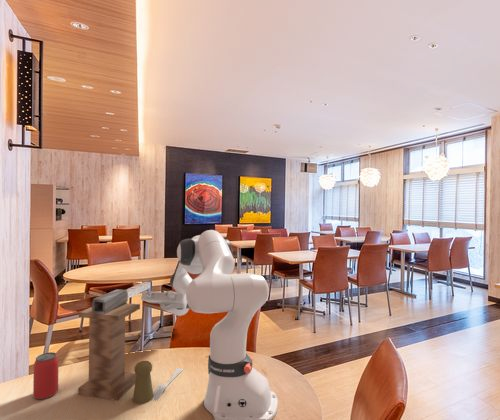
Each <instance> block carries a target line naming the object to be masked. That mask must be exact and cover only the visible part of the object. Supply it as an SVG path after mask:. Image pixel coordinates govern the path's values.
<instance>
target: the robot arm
mask: <svg viewBox="0 0 500 420" xmlns="http://www.w3.org/2000/svg"><path fill="white" fill-rule="evenodd" d="M176 256H177V259H178V262H177V265H176V266H175V269H174V272H173V273H172V275H171V277H170V280H169V285H170V286H171V288H173V289H174V291H173V290H167V291H165V292H164V291H163V292H161V291H160V292H159V291H158V292H157V291H150V290H145V291H143V292H141V297H140V299H141V300H142V301H144V302H147V303H151V304H159V306H160V308H161V309H163V310H164V311H166V312H168V313H170V314H172V315H175V316H184V315H186V314H188V312H189V310H191V311H192V312H194V313H199V314H209V315H210V314H215V313H217V314H219V313H226V312H227V313H226V315H224V317H223V318H222V319H221V320H220V321H218V322H217V323H215V325H214V326H213V327H212V329H211V331H210V334H209V335H210V336H209V337H210V340H209V355H208V360H207V371H208V383H207V387H206V394H205V398H204V399H203V400H204V401H203V405H204V408H205V409H206V410H207V411H208V412H209V413H210V414H212V416H213V418H214V420H273V419H274V417H276V416H275V415H276V414H277V411H278V407H279V406H278V405H279V400H278V396H277V394H276V392H275V391H273V390H271V388H270V383H269V380H268V379H267V377H266V376H264V375H263V374H262V373H260V372H259V371H258V370H256V369H255V368H254V367H253V358H254V357H253V355H251V356H249V355H248V353H247V338H248V331H249V326H250V324H251V322H252V319H253V317H254V316H255V315H256V313H257V312H258V310H259V309H261V307H263V306H264V305H265V304H266V302H267V300H268V298H269V294H270V288H269V284H268V282H267V280H266V279H265V278H264V276H263V275H261V274H256V273H249V272H247V273H245V272H244V273H233V271H234V269H235V265H236V264H235V263H236V262H235V258H234V256H233V247H232V243H231V242H230V240H229V239H227V238H225V237H223V236H222V234H221V233H220V232H219V231H217V230H215V229H209V230H208V229H207V230H205V231H203V232H202V233H201V234H198V235H195V236H193V237H191V238H185V239H182V240H181V241H180V242H179V243H178V246H177V249H176ZM190 274H192V275H198V276H196V277H195V278H192V277H191V276H190Z"/></svg>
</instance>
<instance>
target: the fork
mask: <svg viewBox="0 0 500 420" xmlns="http://www.w3.org/2000/svg"><path fill="white" fill-rule="evenodd" d="M183 371H184V368H180V367H179V368H177V369H175V371H174V373H173V374H172V375H171V377H170V378H169V380H168V381H167V382H166V383H165V384H159V385H158V386H157V387H156V389H155V391H154V392H153V398H152V400H151V401H153V402H158V401H159V399H160V398H161V396H162V394H163V392H164V391H165V390H166V388H167V387H168V386H169V384H171V382H172V381H173V380H174V379H176V378H177V376H178V375H179V374H181V373H182V372H183Z"/></svg>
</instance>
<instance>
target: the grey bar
mask: <svg viewBox="0 0 500 420" xmlns="http://www.w3.org/2000/svg"><path fill="white" fill-rule="evenodd" d="M152 288H153V281H151V280H145V281H142V282H141V283H139V284H136V285H133V286H132V287H129V288H127V289H125V290H127V292H128V299H130V298H132V297H134V296H136V295H138V294H142V293H143V292H144V291H145V292H146V291H148V290H149V289H152Z"/></svg>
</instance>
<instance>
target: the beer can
mask: <svg viewBox="0 0 500 420" xmlns="http://www.w3.org/2000/svg"><path fill="white" fill-rule="evenodd" d="M32 383H33V389H32V390H33V391H32V392H33V393H32V394H33V398H34V399H37V400H45V399H50V398H51V397H53V396H54V395H56V394H57V393H58V391H59V358H58V356H57V353H56V352H54V351H53V352H50V351H49V352H44V353H41V354H38V356H36V357H35V361H34V363H33V382H32Z"/></svg>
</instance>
